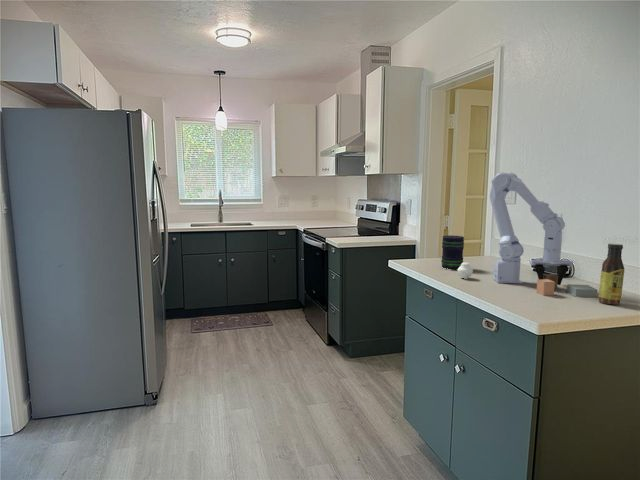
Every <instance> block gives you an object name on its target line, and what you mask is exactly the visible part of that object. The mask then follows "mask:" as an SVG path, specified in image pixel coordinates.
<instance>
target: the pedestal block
mask: <svg viewBox="0 0 640 480" xmlns="http://www.w3.org/2000/svg"><path fill="white" fill-rule="evenodd" d="M566 285H567V288H566V292H567V293H568V294H570V295H573V296H575V297H580V298H581V297H583V298H586V297H588V298H598V292H599V289H597V288H595V287H593V286H591V285H590V284H570V283H569V284H566Z"/></svg>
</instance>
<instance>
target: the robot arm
mask: <svg viewBox="0 0 640 480" xmlns="http://www.w3.org/2000/svg"><path fill="white" fill-rule="evenodd" d="M511 191H512V192H515V193H517V194H518V195H519V196H520V197H521V199H523V200H524V201H525V202H526V204H528V205H529V206H530V212H531V214H532V215H533V216H535V218H536V219H537V220H538V221H539V222H540V224H542V228H543V231H544V239H543V240H544V241H543V252H542V253H543V255H542V257H543V258H542V259H530V260H529V265H530V266H533V267H534V269H535V271H536V275H537V280H538V279H543V276H544V274H545V271H546V268H545V267H544V266H547V267H548V266H553V267H555V266H556V276H558V284H557V286H561V285H562V281H563V279H564V277H565V275H566V273H567V272H568V271H569V269H570V268H569V267H574V266H573V265H574V261H573V260H564V259H561V254H562V239H563V235H562V234H563V231H562V230H564V228H565V226H566V222H565V221H564V219H563V217H562V216H561V217H560V216H558V214H557V213H556V212H554V211H553V210H552V209H551V208H550V204H549V203H548V202H545V201H542V200H541V201H540V200H539V199H537V197H536V196H535V195H534V194H533V192H532V191H531V190H530V189H529V187H527V186H526V184H525V183H524V182H523V180H522V179H521V178H519V177H518V176H517V174H516V173H513V172H498V173H497V174H495V175H494V177H493V179H492V180H491V187H490V192H489V200H490V204H491V207H492V211H493V214H494V217H495V221H496V222H495V223H496V226H497V229H498V233H499V236H500V239H499V243H498V245H499V250H498V254H499V256H500V259H495V261H494V266H493V267H494V269H493V277H492V278H493V279H494V281H496V283H501V284H503V283H504V284H523V281H522V280H520V277H521V262H522V261H521V260H522V259H521V257H522V255H523V254H524V247H523V245H522V244H521V242H520V240H519V238H518V236H516V235H515V231H514V228H513V225H512V224H513V223H512V220H511V217H510V214H509V210H508V206H507V202H506V199H505V198H506V196H507V195H508V193H509V192H511Z"/></svg>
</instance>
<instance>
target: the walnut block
mask: <svg viewBox="0 0 640 480" xmlns="http://www.w3.org/2000/svg"><path fill="white" fill-rule="evenodd" d="M543 279H548V280H551V281H554V282H555V286H554V290H558V276H557V274H554V273H552V274H551V273H544V276H543Z"/></svg>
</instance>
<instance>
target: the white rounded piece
mask: <svg viewBox="0 0 640 480" xmlns="http://www.w3.org/2000/svg"><path fill="white" fill-rule="evenodd" d="M473 272H474V269H473V268H472V267H471V265H470V263H469V262H466V261H465V262H464V261H463V263H462V264H461V266H460V267H459V268H458V270H457V273H458V276H459V277H460V279H462V278H464V279H463V280H468V278H469V279H470V278H471V276H472V274H473Z"/></svg>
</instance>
